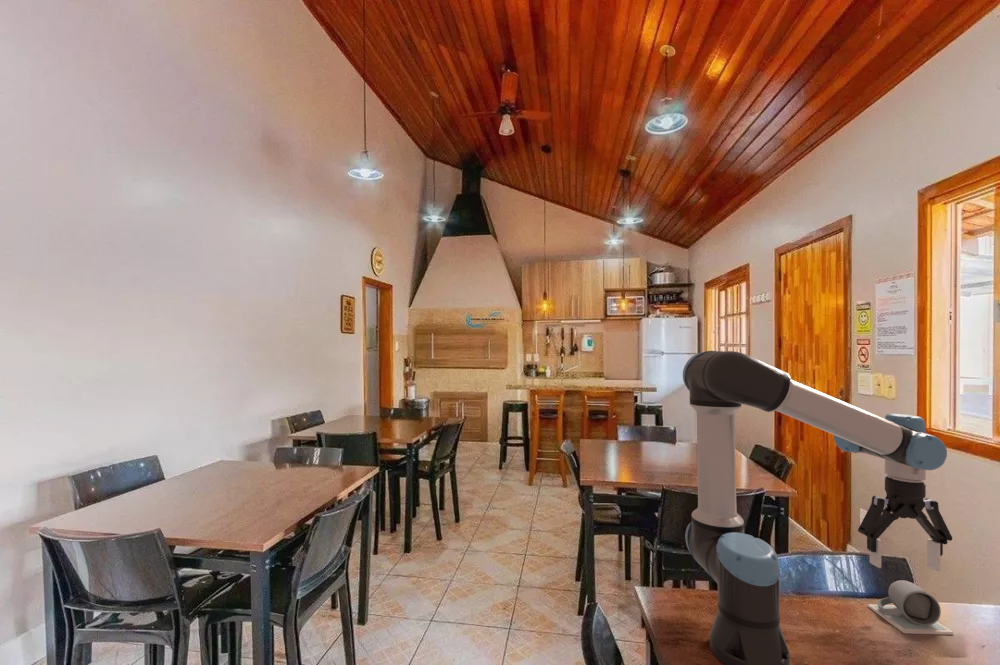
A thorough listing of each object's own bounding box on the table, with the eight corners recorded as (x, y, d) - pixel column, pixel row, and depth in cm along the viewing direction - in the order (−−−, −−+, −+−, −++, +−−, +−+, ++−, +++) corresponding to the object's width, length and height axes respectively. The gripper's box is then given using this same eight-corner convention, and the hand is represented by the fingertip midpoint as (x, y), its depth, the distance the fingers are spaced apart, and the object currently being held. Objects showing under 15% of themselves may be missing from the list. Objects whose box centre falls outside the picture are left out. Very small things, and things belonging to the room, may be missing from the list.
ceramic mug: (921, 609, 115) (919, 577, 115) (942, 628, 107) (940, 594, 107) (870, 603, 118) (869, 573, 118) (888, 621, 110) (886, 588, 110)
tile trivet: (903, 633, 106) (903, 630, 106) (867, 606, 117) (867, 604, 117) (953, 634, 106) (953, 631, 106) (912, 607, 117) (912, 605, 117)
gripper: (863, 480, 109) (862, 571, 109) (973, 485, 108) (973, 577, 108) (841, 471, 117) (840, 556, 116) (943, 476, 116) (943, 562, 115)
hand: (904, 567), depth 112 cm, fingers open, 13 cm apart
